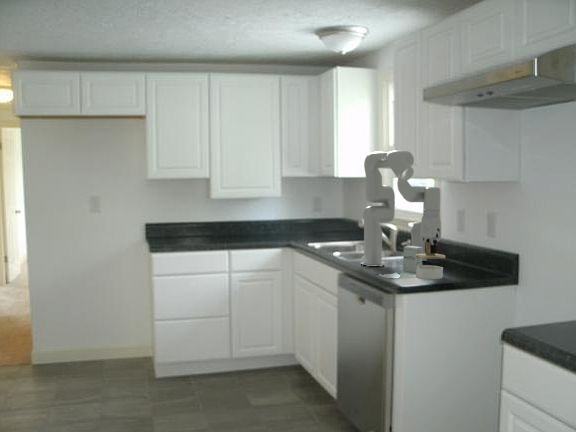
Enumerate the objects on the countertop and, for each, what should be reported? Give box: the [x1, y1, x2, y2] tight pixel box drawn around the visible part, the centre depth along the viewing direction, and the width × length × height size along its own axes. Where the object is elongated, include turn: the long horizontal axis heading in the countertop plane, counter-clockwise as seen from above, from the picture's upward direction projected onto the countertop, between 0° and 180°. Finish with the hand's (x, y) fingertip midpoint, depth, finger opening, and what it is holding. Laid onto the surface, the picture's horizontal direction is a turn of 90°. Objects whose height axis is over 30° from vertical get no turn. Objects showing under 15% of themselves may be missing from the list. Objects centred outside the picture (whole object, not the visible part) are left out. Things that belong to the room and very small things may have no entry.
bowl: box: [415, 264, 444, 280], centre depth 283 cm, size 12×12×5 cm
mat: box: [399, 272, 414, 279], centre depth 285 cm, size 14×14×1 cm
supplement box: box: [402, 245, 423, 273], centre depth 300 cm, size 7×7×13 cm
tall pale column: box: [410, 221, 427, 262], centre depth 335 cm, size 11×4×22 cm, turn 106°
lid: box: [416, 241, 446, 260], centre depth 282 cm, size 14×14×7 cm
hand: (430, 252), depth 282 cm, fingers closed on lid, 3 cm apart
